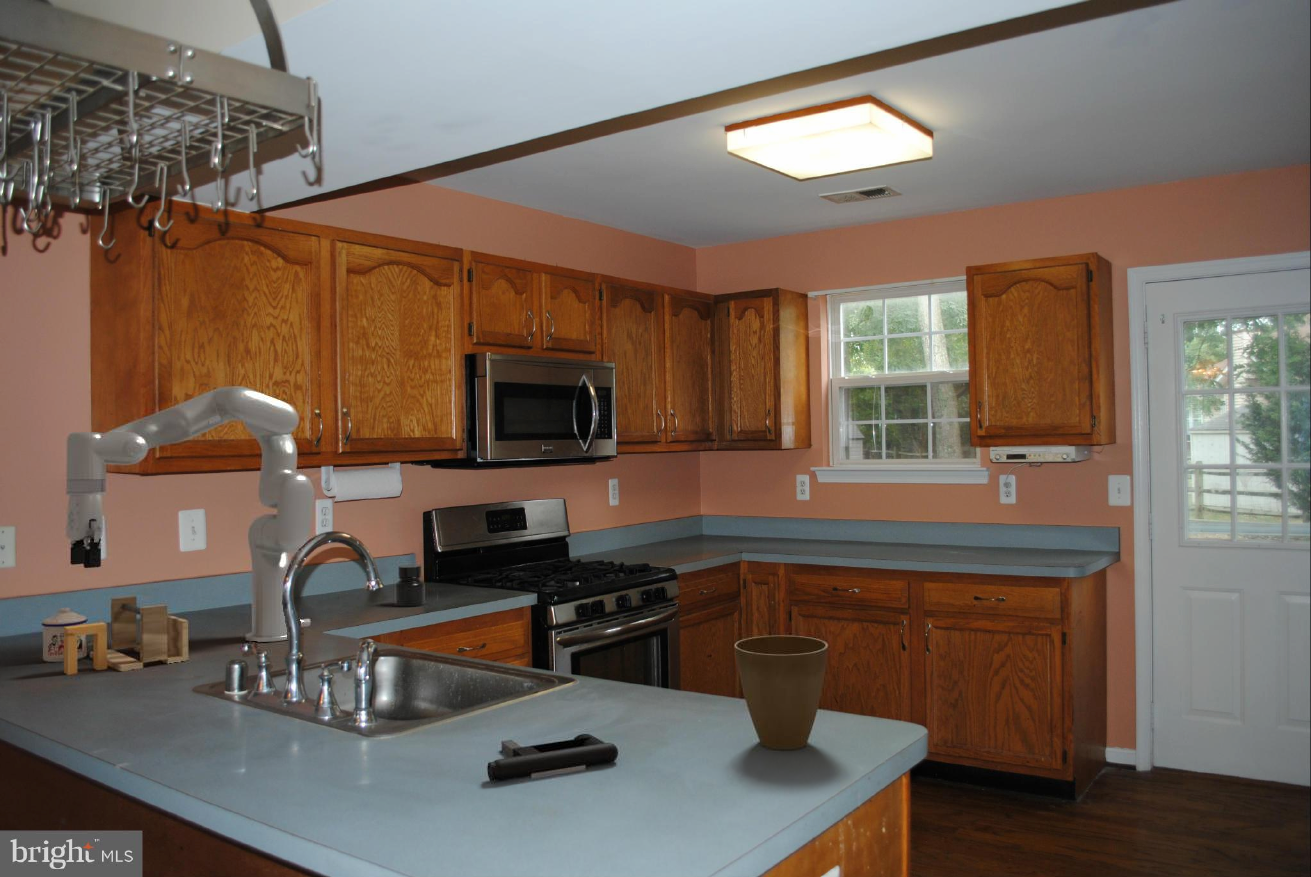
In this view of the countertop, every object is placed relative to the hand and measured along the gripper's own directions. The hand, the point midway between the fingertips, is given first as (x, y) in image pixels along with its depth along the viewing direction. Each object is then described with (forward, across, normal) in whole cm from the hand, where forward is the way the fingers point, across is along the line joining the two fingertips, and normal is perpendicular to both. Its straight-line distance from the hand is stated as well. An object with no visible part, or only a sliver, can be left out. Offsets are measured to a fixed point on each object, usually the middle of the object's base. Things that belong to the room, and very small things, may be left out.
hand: (85, 565), depth 211 cm
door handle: (+23, +122, +30) cm, 128 cm away
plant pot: (+23, +144, +61) cm, 158 cm away
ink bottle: (+22, -24, +96) cm, 101 cm away
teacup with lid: (+23, -17, +2) cm, 29 cm away
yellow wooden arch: (+23, 0, 0) cm, 23 cm away
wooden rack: (+23, -4, +12) cm, 26 cm away
